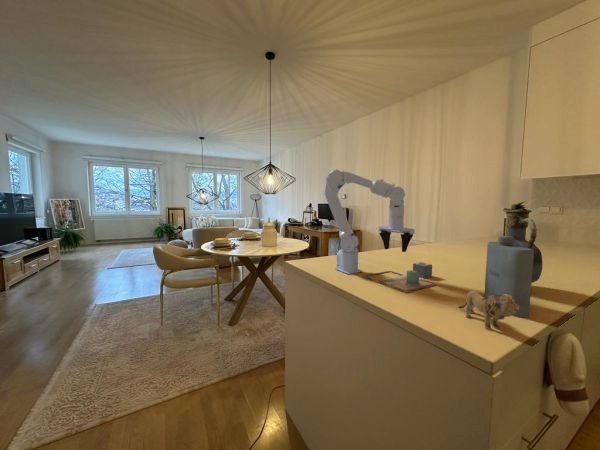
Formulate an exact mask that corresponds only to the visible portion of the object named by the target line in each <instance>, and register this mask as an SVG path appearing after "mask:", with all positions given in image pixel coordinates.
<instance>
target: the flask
mask: <svg viewBox="0 0 600 450" xmlns="http://www.w3.org/2000/svg"><path fill="white" fill-rule="evenodd" d="M513 243H515V238H513V237H510V236H507V235H500V236H499V237H498V238H497V241H488V242H487V246H486V247H487V248H486V262H485V263H486V264H485V280H484V282H485V283H484V296H483V297H484V298H485V297H487V296H493V295H498V294H508V295H511V296H512V298H513V300H514V302H515V303H516V304H518V305H519V309H518V310H517V311H516V312H514V314H513V315H512V316H513V317H517V318H527V317H529V316H530V310H531V309H530V307H531V306H530V305H531V292H532V284H533V283H532V270H533V257H534V250H532V249H529V248H524V247H519V246H515V245H513Z"/></svg>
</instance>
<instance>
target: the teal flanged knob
mask: <svg viewBox="0 0 600 450" xmlns="http://www.w3.org/2000/svg"><path fill="white" fill-rule="evenodd" d="M406 276H407V281H405V284H406V285H408V286H414V287H417V286H420V283H419V280H420V277H419V272H417V271H413V270H406Z"/></svg>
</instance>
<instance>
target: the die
mask: <svg viewBox="0 0 600 450" xmlns="http://www.w3.org/2000/svg"><path fill="white" fill-rule="evenodd" d="M412 271H417V272H419V279H428V278H431V277H432V275H433V264H430V263H426V262H422V261H421V262H420V261H419V262H415V263H412Z"/></svg>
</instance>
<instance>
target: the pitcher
mask: <svg viewBox="0 0 600 450" xmlns="http://www.w3.org/2000/svg"><path fill="white" fill-rule="evenodd" d="M524 203H526V200H524V201H522V202H519V203H512V204H511V205H510V207H509V208H503V209H502V211H503V212H505V213H506V214H505V215H506V220H507V221H506V224H505V225H506V236H510V237H513V238H515V243H513V245H515V246H519V247H524V248H529V249H532V250H534V257H533V270H532V283H531V284H533V283H535V282H537V281H539V279H540V278H541V275H542V271H543V255H542V251H541V250H540V248H539V247H538V246H537V245H536V244H535V242H536V238H537V232H538V230H537V225H536V223H535V222H534V220H533V219H532V218H530V213H532V212H533V210H531V209H527V208H528V207H527V206H526V207H525V206H524V205H523V204H524ZM528 227H530V228H529V229H530V232H529V233H530V237H529V239H528V240H526V234H527V229H528Z"/></svg>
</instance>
